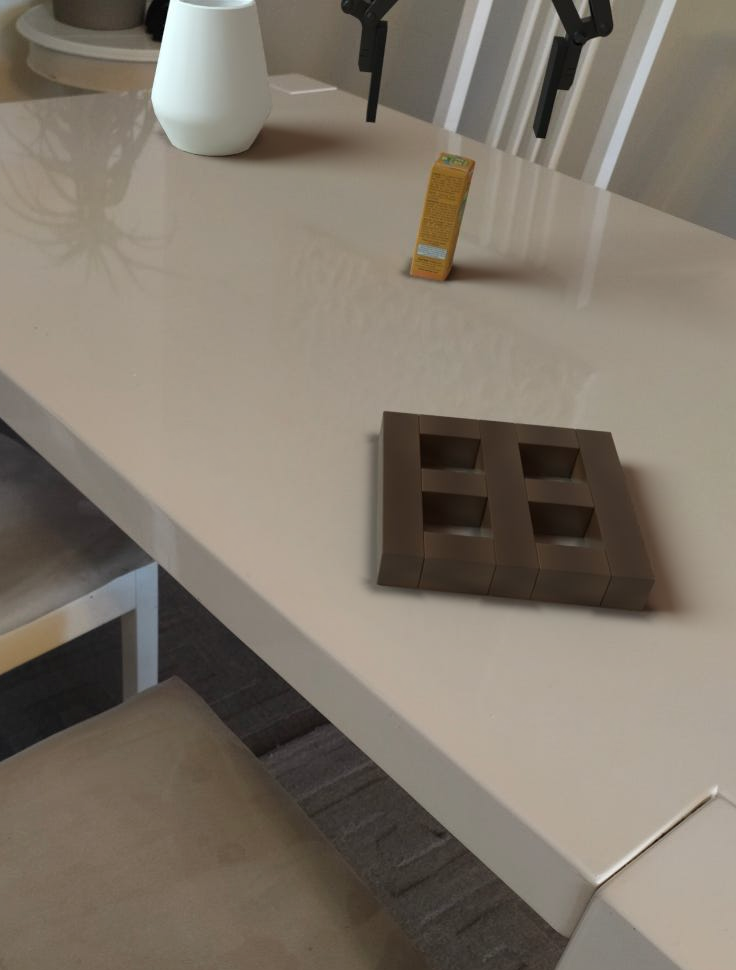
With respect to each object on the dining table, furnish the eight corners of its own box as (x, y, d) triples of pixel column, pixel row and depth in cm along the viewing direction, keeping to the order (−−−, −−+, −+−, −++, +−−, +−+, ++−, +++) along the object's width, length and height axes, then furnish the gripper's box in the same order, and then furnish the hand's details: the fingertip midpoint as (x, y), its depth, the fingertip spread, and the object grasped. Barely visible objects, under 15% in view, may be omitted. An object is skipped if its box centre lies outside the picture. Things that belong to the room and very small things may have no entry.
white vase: (127, 136, 110) (121, -9, 101) (217, 115, 117) (220, -22, 107) (204, 171, 104) (205, 19, 94) (294, 147, 110) (304, 3, 101)
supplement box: (445, 289, 86) (468, 170, 79) (408, 281, 87) (427, 162, 80) (453, 274, 88) (476, 157, 81) (416, 267, 89) (436, 150, 82)
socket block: (598, 469, 67) (611, 431, 65) (638, 619, 56) (655, 580, 54) (377, 448, 67) (383, 410, 65) (374, 592, 57) (381, 553, 54)
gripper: (327, -238, 62) (298, 125, 76) (725, -205, 61) (617, 155, 76) (332, -244, 67) (304, 96, 82) (698, -214, 66) (602, 124, 81)
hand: (454, 125), depth 79 cm, fingers open, 13 cm apart
